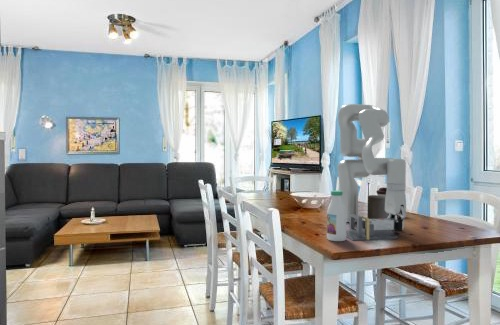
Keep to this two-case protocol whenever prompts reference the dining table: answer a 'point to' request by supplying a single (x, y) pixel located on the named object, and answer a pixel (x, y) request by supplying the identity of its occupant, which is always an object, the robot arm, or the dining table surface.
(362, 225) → the collar rail
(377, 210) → the pillar candle
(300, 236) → the dining table surface
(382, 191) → the coffee cup
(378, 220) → the white post with dot
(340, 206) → the milk bottle
